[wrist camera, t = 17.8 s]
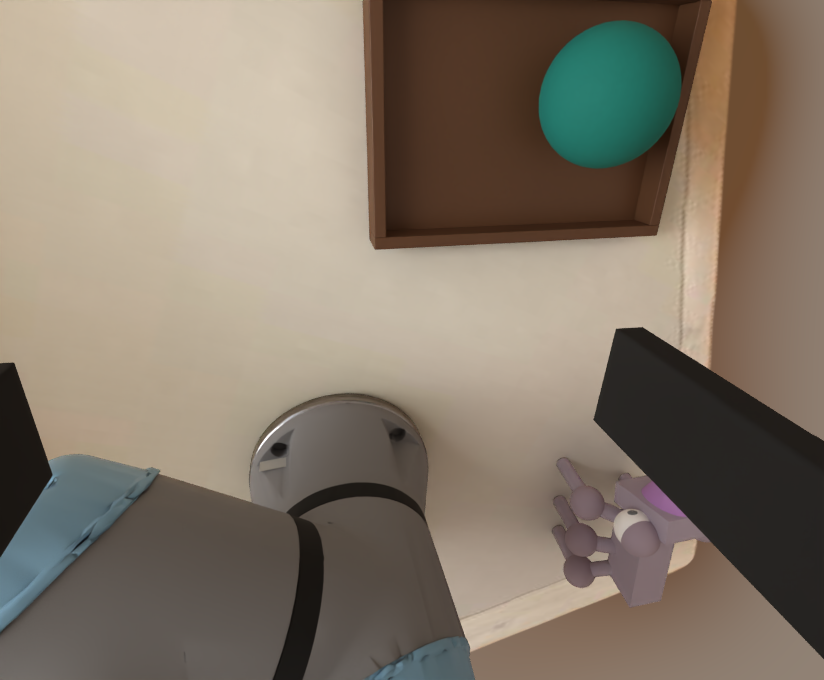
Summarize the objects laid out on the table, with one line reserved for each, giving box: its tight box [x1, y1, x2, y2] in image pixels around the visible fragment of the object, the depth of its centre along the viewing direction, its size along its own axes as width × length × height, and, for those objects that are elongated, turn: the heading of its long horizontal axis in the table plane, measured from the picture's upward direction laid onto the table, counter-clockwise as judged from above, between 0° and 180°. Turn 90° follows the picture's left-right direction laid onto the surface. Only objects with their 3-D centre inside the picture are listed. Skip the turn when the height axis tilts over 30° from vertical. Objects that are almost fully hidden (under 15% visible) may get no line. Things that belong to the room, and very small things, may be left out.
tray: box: [363, 0, 712, 249], centre depth 32 cm, size 16×22×3 cm
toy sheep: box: [552, 458, 711, 607], centre depth 44 cm, size 20×11×14 cm, turn 5°
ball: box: [539, 20, 682, 169], centre depth 30 cm, size 8×8×8 cm
